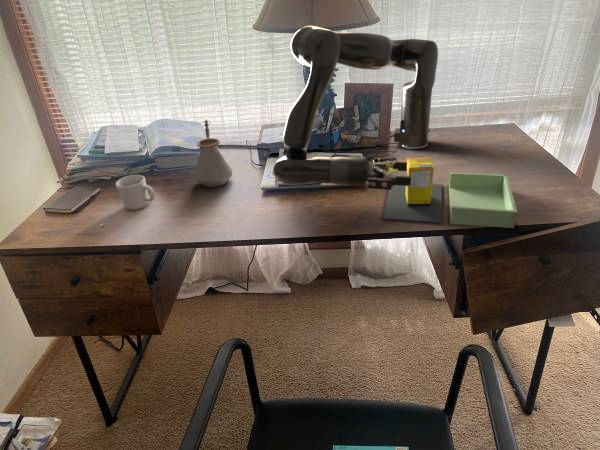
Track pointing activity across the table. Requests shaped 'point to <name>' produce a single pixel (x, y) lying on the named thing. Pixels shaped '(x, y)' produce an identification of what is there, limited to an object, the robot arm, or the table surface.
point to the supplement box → (419, 182)
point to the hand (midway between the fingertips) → (411, 173)
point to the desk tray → (481, 200)
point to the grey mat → (402, 212)
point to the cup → (134, 191)
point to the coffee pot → (212, 162)
